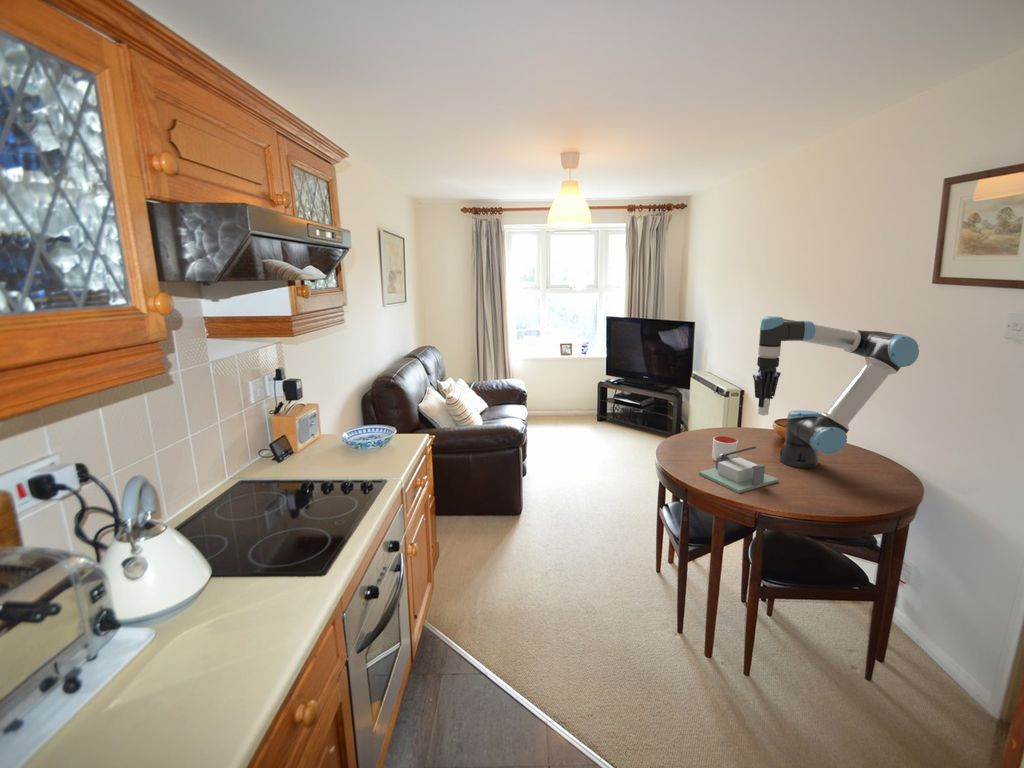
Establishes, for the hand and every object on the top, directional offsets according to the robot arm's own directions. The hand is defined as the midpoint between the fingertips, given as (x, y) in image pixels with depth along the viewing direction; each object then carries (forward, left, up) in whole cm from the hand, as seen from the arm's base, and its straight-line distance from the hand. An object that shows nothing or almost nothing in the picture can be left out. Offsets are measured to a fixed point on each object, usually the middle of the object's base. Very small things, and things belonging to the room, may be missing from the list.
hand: (763, 414), depth 194 cm
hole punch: (+9, -2, -26) cm, 28 cm away
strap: (+9, -3, -16) cm, 19 cm away
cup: (-1, -18, -27) cm, 32 cm away
